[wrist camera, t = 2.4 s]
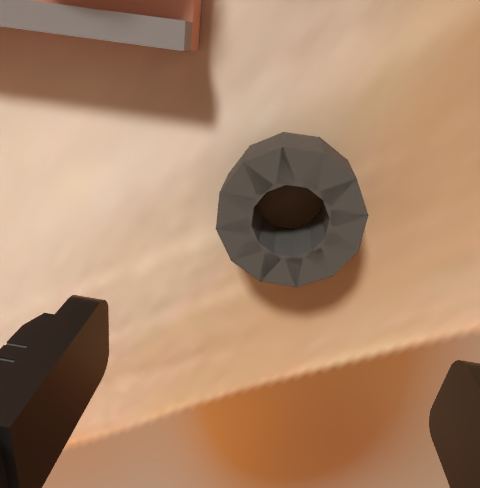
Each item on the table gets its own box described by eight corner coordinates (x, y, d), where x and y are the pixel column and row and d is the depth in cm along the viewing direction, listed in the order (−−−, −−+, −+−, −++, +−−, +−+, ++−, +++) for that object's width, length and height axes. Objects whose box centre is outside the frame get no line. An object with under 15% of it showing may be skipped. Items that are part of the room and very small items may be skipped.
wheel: (369, 144, 19) (383, 161, 16) (339, 263, 21) (346, 295, 19) (234, 124, 19) (224, 138, 16) (221, 245, 22) (211, 273, 19)
